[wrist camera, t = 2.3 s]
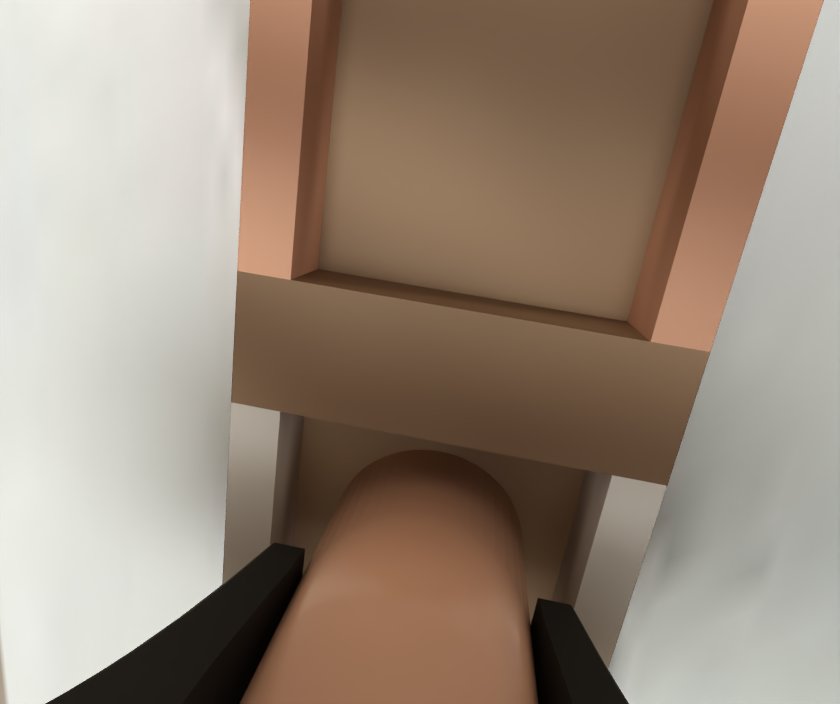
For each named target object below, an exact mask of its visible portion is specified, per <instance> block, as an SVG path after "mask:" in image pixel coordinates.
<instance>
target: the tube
mask: <svg viewBox="0 0 840 704" xmlns="http://www.w3.org/2000/svg"><path fill="white" fill-rule="evenodd" d="M240 704H539V703H538V693H537V683H536V674H535V664H534V654H533V644H532V634H531V624H530V614H529V605H528V595H527V585H526V575H525V565H524V555H523V546H522V536H521V527H520V522H519V517H518V514H517V512H516V509H515V506H514V504H513V503H512V501H511V499H510V497H509V495H508V494H507V493H506V491H505V490H504V489H503V487H502V486H501V485H500V484H499V483H498V482H497V481H496V480H495V479H494V478H493V477H492V476H491V475H490V474H489V473H487V472H486V471H485V470H484V469H482V468H480V467H479V466H477V465H476V464H474V463H472V462H470V461H468V460H466V459H464V458H462V457H459V456H456V455H453V454H450V453H445V452H440V451H434V450H408V451H402V452H397V453H394V454H390V455H387V456H385V457H383V458H380V459H378V460H376V461H374V462H373V463H371V464H369V465H368V466H366V467H365V468H364V469H363V470H361V471H360V472H359V473H358V474H357V475H356V476H355V477H354V478H353V479H352V481H351V482H350V483H349V485H348V486H347V488H346V489H345V491H344V493H343V495H342V497H341V499H340V501H339V503H338V505H337V507H336V509H335V511H334V513H333V515H332V517H331V519H330V521H329V523H328V525H327V527H326V529H325V531H324V533H323V535H322V537H321V539H320V541H319V543H318V546H317V548H316V550H315V552H314V554H313V556H312V558H311V560H310V562H309V564H308V566H307V568H306V570H305V572H304V574H303V576H302V578H301V580H300V582H299V584H298V586H297V588H296V590H295V592H294V594H293V596H292V598H291V600H290V602H289V604H288V606H287V608H286V610H285V612H284V614H283V616H282V618H281V620H280V623H279V625H278V627H277V629H276V631H275V633H274V635H273V637H272V639H271V641H270V643H269V645H268V647H267V649H266V651H265V653H264V655H263V657H262V659H261V661H260V663H259V665H258V667H257V669H256V671H255V673H254V675H253V677H252V679H251V681H250V683H249V685H248V687H247V689H246V691H245V693H244V695H243V697H242V700H241V702H240Z"/></svg>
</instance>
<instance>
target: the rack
mask: <svg viewBox="0 0 840 704" xmlns="http://www.w3.org/2000/svg"><path fill="white" fill-rule="evenodd" d="M823 2H824V0H250V18H249V39H248V60H247V81H246V102H245V123H244V144H243V165H242V186H241V207H240V227H239V248H238V269H237V290H236V311H235V332H234V353H233V374H232V395H231V416H230V437H229V458H228V479H227V499H226V520H225V541H224V562H223V583H222V585H223V584H224V583H225V582H226V581H227V580H229V579H230V578H231V577H232V576H234V575H235V574H236V573H237V572H239V571H240V570H241V569H242V568H243V567H245V566H246V565H247V564H248V563H249V562H251V561H252V560H253V559H254V558H255V557H257V556H258V555H259V554H260V553H261V552H263V551H264V550H265V549H266V548H267V547H269V546H270V545H272V544H273V543H280V544H285V545H290V546H294V547H299V548H304V549H305V556H304V566H303V574H304V572H305V570H306V568H307V566H308V564H309V562H310V560H311V558H312V556H313V554H314V552H315V550H316V548H317V546H318V543H319V541H320V539H321V537H322V535H323V533H324V531H325V529H326V527H327V525H328V523H329V521H330V519H331V517H332V515H333V513H334V511H335V509H336V507H337V505H338V503H339V501H340V499H341V497H342V495H343V493H344V491H345V489H346V488H347V486H348V485H349V483H350V482H351V481H352V479H353V478H354V477H355V476H356V475H357V474H358V473H359V472H360V471H361V470H363V469H364V468H365V467H366V466H368V465H369V464H371V463H373V462H374V461H376V460H378V459H380V458H383V457H385V456H387V455H390V454H394V453H397V452H402V451H408V450H434V451H440V452H445V453H450V454H453V455H456V456H459V457H462V458H464V459H466V460H468V461H470V462H472V463H474V464H476V465H477V466H479V467H480V468H482V469H484V470H485V471H486V472H487V473H489V474H490V475H491V476H492V477H493V478H494V479H495V480H496V481H497V482H498V483H499V484H500V485H501V486H502V487H503V489H504V490H505V491H506V493H507V494H508V495H509V497H510V499H511V501H512V503H513V504H514V506H515V509H516V512H517V514H518V517H519V522H520V527H521V536H522V546H523V555H524V565H525V575H526V585H527V595H528V605H529V614H530V624H531V622H532V618H533V614H534V611H535V607H536V603H537V599H538V598H541V599H546V600H550V601H555V602H560V603H565V604H569V605H571V606H572V607H573V609H574V610H575V612H576V614H577V615H578V617H579V619H580V621H581V623H582V624H583V626H584V628H585V630H586V632H587V633H588V635H589V637H590V639H591V640H592V642H593V644H594V646H595V648H596V649H597V651H598V653H599V655H600V656H601V658H602V660H603V661H604V663H605V665H606V667H607V668H609V664H610V661H611V658H612V655H613V652H614V649H615V646H616V643H617V640H618V637H619V633H620V630H621V627H622V624H623V621H624V618H625V615H626V612H627V609H628V606H629V602H630V599H631V596H632V593H633V590H634V587H635V584H636V581H637V578H638V575H639V571H640V568H641V565H642V562H643V559H644V556H645V553H646V550H647V547H648V544H649V541H650V537H651V534H652V531H653V528H654V525H655V522H656V519H657V516H658V513H659V510H660V506H661V503H662V500H663V497H664V494H665V491H666V488H667V485H668V482H669V479H670V475H671V472H672V469H673V466H674V463H675V460H676V457H677V454H678V451H679V448H680V444H681V441H682V438H683V435H684V432H685V429H686V426H687V423H688V420H689V417H690V414H691V410H692V407H693V404H694V401H695V398H696V395H697V392H698V389H699V386H700V383H701V379H702V376H703V373H704V370H705V367H706V364H707V361H708V358H709V355H710V352H711V348H712V345H713V342H714V339H715V336H716V333H717V330H718V327H719V324H720V321H721V317H722V314H723V311H724V308H725V305H726V302H727V299H728V296H729V293H730V290H731V287H732V283H733V280H734V277H735V274H736V271H737V268H738V265H739V262H740V259H741V256H742V252H743V249H744V246H745V243H746V240H747V237H748V234H749V231H750V228H751V225H752V221H753V218H754V215H755V212H756V209H757V206H758V203H759V200H760V197H761V194H762V190H763V187H764V184H765V181H766V178H767V175H768V172H769V169H770V166H771V163H772V160H773V156H774V153H775V150H776V147H777V144H778V141H779V138H780V135H781V132H782V129H783V125H784V122H785V119H786V116H787V113H788V110H789V107H790V104H791V101H792V98H793V94H794V91H795V88H796V85H797V82H798V79H799V76H800V73H801V70H802V67H803V63H804V60H805V57H806V54H807V51H808V48H809V45H810V42H811V39H812V36H813V33H814V29H815V26H816V23H817V20H818V17H819V14H820V11H821V8H822V5H823Z"/></svg>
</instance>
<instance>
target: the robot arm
mask: <svg viewBox="0 0 840 704" xmlns="http://www.w3.org/2000/svg"><path fill="white" fill-rule="evenodd" d="M304 556H305V549H304V548H299V547H294V546H290V545H285V544H280V543H273V544H272V545H270V546H269V547H267V548H266V549H265V550H264V551H263V552H261V553H260V554H259V555H258V556H257V557H255V558H254V559H253V560H252V561H251V562H249V563H248V564H247V565H246V566H245V567H243V568H242V569H241V570H240V571H239V572H237V573H236V574H235V575H234V576H232V577H231V578H230V579H229V580H227V581H226V582H225V583H224V584H223V585H221V586H220V587H219V588H218V589H216V590H215V591H214V592H212V593H211V594H210V595H208V596H207V597H206V598H205V599H203V600H202V601H201V602H199V603H198V604H197V605H195V606H194V607H193V608H192V609H190V610H189V611H188V612H186V613H185V614H184V615H182V616H181V617H180V618H178V619H177V620H176V621H174V622H173V623H171V624H170V625H168V626H167V627H166V628H164V629H163V630H161V631H160V632H158V633H157V634H156V635H154V636H153V637H151V638H150V639H148V640H147V641H146V642H144V643H143V644H141V645H140V646H139V647H137V648H136V649H134V650H133V651H131V652H130V653H128V654H127V655H125V656H124V657H122V658H120V659H119V660H117V661H116V662H114V663H113V664H111V665H110V666H108V667H107V668H105V669H103V670H102V671H100V672H99V673H97V674H95V675H94V676H92V677H90V678H89V679H87V680H85V681H84V682H82V683H80V684H79V685H77V686H75V687H74V688H72V689H71V690H69V691H67V692H65V693H64V694H62V695H60V696H58V697H57V698H55V699H53V700H51V701H49V702H48V703H46V704H240V702H241V700H242V697H243V695H244V693H245V691H246V689H247V687H248V685H249V683H250V681H251V679H252V677H253V675H254V673H255V671H256V669H257V667H258V665H259V663H260V661H261V659H262V657H263V655H264V653H265V651H266V649H267V647H268V645H269V643H270V641H271V639H272V637H273V635H274V633H275V631H276V629H277V627H278V625H279V623H280V620H281V618H282V616H283V614H284V612H285V610H286V608H287V606H288V604H289V602H290V600H291V598H292V596H293V594H294V592H295V590H296V588H297V586H298V584H299V582H300V580H301V578H302V576H303V566H304ZM531 634H532V644H533V654H534V664H535V674H536V683H537V693H538V703H539V704H629V703H628V701H627V700H626V698H625V697H624V695H623V693H622V692H621V690H620V689H619V687H618V685H617V684H616V682H615V680H614V679H613V677H612V675H611V674H610V672H609V670H608V668H607V667H606V665H605V663H604V661H603V660H602V658H601V656H600V655H599V653H598V651H597V649H596V648H595V646H594V644H593V642H592V640H591V639H590V637H589V635H588V633H587V632H586V630H585V628H584V626H583V624H582V623H581V621H580V619H579V617H578V615H577V614H576V612H575V610H574V609H573V607H572V606H571V605H569V604H565V603H560V602H555V601H550V600H546V599H541V598H538V599H537V603H536V607H535V611H534V614H533V618H532V622H531Z"/></svg>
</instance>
